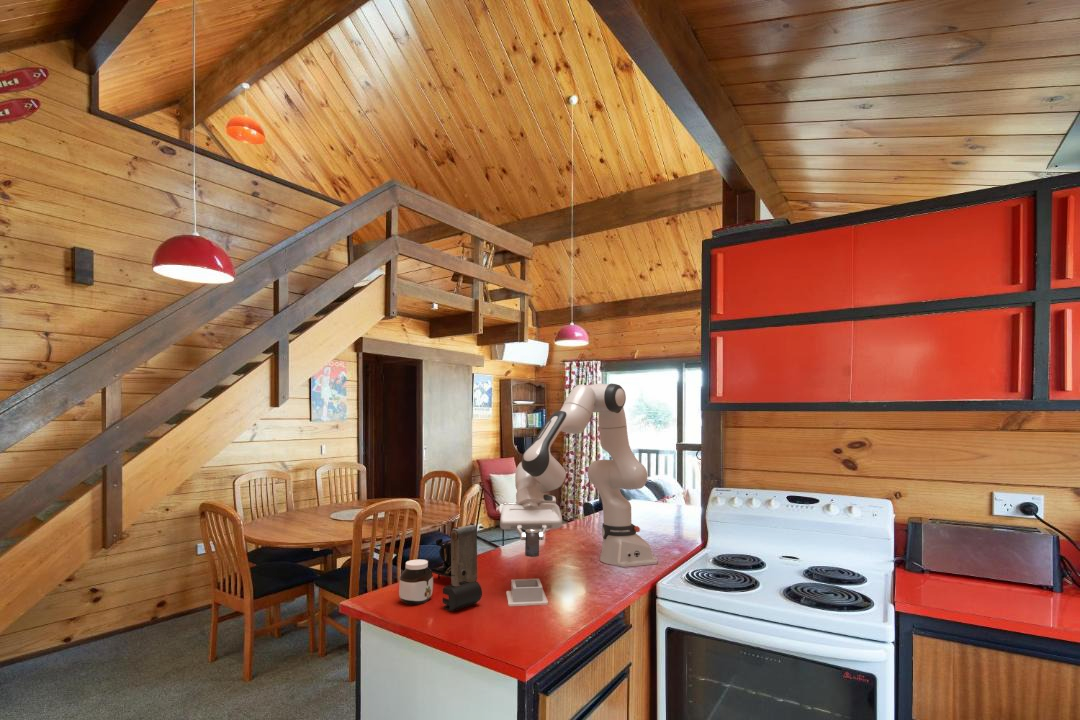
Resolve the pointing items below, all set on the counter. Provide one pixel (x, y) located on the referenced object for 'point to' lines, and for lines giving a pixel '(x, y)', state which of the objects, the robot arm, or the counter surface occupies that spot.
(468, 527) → the vintage camera
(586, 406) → the robot arm
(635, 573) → the counter surface
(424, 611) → the counter surface
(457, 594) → the end cap
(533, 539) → the brown cylinder
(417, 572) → the spread jar
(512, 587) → the open square tray
